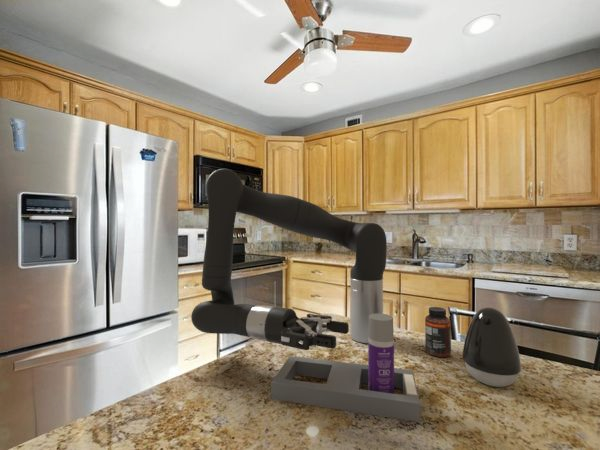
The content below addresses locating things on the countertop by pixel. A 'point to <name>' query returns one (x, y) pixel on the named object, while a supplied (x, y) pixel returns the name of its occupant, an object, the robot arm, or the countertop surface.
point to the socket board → (345, 388)
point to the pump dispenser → (491, 349)
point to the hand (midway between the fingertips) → (342, 335)
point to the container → (381, 353)
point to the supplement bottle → (438, 332)
